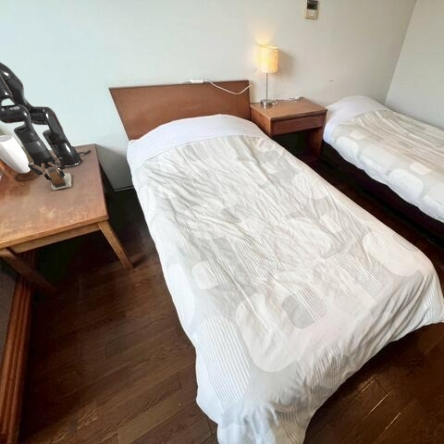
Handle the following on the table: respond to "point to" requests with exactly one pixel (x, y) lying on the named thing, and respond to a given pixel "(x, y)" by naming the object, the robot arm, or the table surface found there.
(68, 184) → the tile
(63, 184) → the brush
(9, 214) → the table surface
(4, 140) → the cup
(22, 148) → the olive brown tapered block
